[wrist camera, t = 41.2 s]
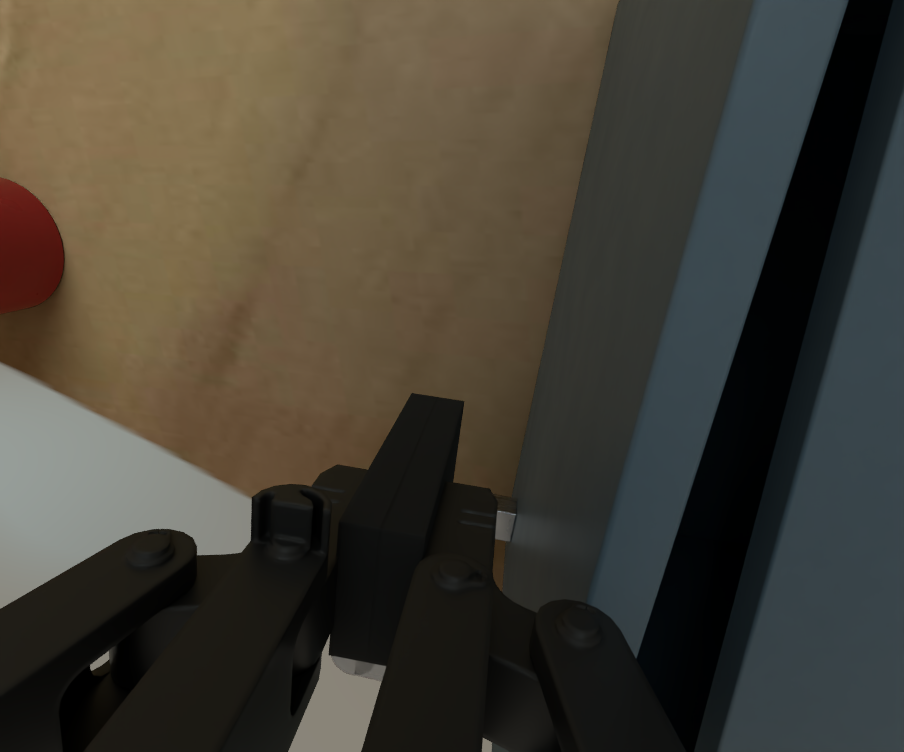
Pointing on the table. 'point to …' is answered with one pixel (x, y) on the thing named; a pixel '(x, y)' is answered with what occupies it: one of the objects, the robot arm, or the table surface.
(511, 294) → the table surface
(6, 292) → the can
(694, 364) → the fridge door
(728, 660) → the fridge
